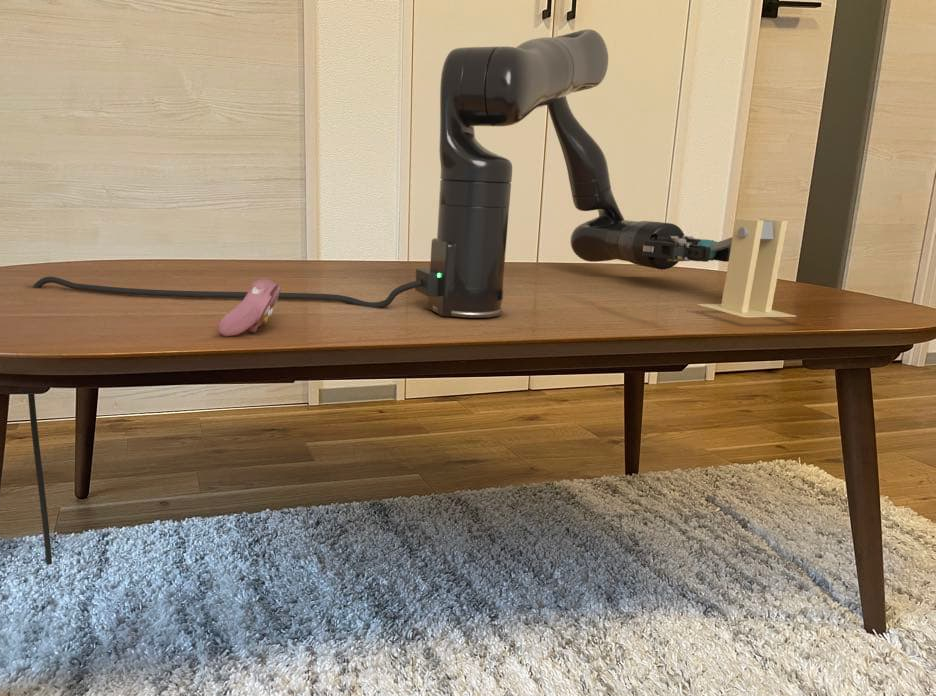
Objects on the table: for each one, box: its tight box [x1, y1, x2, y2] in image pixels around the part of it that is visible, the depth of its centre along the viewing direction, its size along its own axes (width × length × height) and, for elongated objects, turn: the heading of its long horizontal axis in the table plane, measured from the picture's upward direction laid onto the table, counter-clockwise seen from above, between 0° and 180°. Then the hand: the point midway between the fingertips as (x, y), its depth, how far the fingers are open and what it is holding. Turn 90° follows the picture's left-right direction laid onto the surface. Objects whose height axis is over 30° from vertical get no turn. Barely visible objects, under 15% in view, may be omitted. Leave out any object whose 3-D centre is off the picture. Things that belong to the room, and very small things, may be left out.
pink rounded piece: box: [217, 278, 282, 337], centre depth 89 cm, size 10×5×7 cm, turn 179°
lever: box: [697, 222, 774, 261], centre depth 113 cm, size 14×3×3 cm, turn 17°
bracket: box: [696, 217, 796, 318], centre depth 109 cm, size 10×9×14 cm
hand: (718, 254), depth 116 cm, fingers closed on lever, 3 cm apart
